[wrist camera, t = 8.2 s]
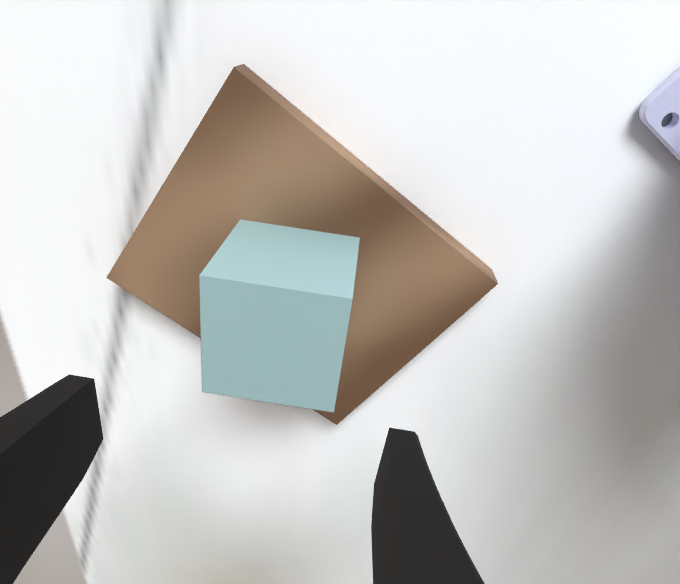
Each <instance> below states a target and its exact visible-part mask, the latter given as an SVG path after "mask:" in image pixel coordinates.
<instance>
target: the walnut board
mask: <svg viewBox="0 0 680 584" xmlns="http://www.w3.org/2000/svg"><path fill="white" fill-rule="evenodd" d="M240 219H241V220H247V221H254V222H261V223H267V224H274V225H280V226H287V227H293V228H300V229H307V230H313V231H320V232H326V233H333V234H339V235H346V236H353V237H359V238H360V241H359V250H358V258H357V266H356V275H355V283H354V292H353V300H352V306H351V312H350V318H349V324H348V330H347V336H346V342H345V348H344V354H343V360H342V366H341V373H340V379H339V385H338V391H337V397H336V403H335V409H334V412H328V411H321V410H315V409H313V410H314V411H316V412H318V413H319V414H321V415H322V416H324V417H325V418H327V419H328V420H330V421H332V422H333V423H335V424H336V425H337V424H338V423H339V422H340V421H342V420H343V419H344V418H345V417H346V416H347V415H348V414H350V413H351V412H352V411H353V410H354V409H355V408H357V407H358V406H359V405H360V404H361V403H362V402H363V401H365V400H366V399H367V398H368V397H369V396H370V395H371V394H373V393H374V392H375V391H376V390H377V389H378V388H379V387H381V386H382V385H383V384H384V383H385V382H386V381H387V380H389V379H390V378H391V377H392V376H393V375H394V374H395V373H397V372H398V371H399V370H400V369H401V368H402V367H403V366H405V365H406V364H407V363H408V362H409V361H410V360H411V359H413V358H414V357H415V356H416V355H417V354H418V353H419V352H421V351H422V350H423V349H424V348H425V347H426V346H427V345H429V344H430V343H431V342H432V341H433V340H434V339H435V338H437V337H438V336H439V335H440V334H441V333H442V332H443V331H445V330H446V329H447V328H448V327H449V326H450V325H451V324H453V323H454V322H455V321H456V320H457V319H458V318H459V317H461V316H462V315H463V314H464V313H465V312H466V311H467V310H469V309H470V308H471V307H472V306H473V305H474V304H475V303H477V302H478V301H479V300H480V299H481V298H482V297H483V296H485V295H486V294H487V293H488V292H489V291H490V290H491V289H493V288H494V287H495V286H496V285H497V284H498V283H497V280H496V278H495V276H494V273H493V271H492V269H491V268H489V267H488V266H487V265H486V264H485V263H483V262H482V261H481V260H480V259H479V258H477V257H476V256H475V255H474V254H473V253H471V252H470V251H469V250H468V249H466V248H465V247H464V246H463V245H462V244H460V243H459V242H458V241H457V240H456V239H454V238H453V237H452V236H451V235H450V234H448V233H447V232H446V231H445V230H444V229H442V228H441V227H440V226H439V225H438V224H436V223H435V222H434V221H433V220H431V219H430V218H429V217H428V216H427V215H425V214H424V213H423V212H422V211H421V210H419V209H418V208H417V207H416V206H415V205H413V204H412V203H411V202H410V201H409V200H407V199H406V198H405V197H404V196H402V195H401V194H400V193H399V192H398V191H396V190H395V189H394V188H393V187H392V186H390V185H389V184H388V183H387V182H386V181H384V180H383V179H382V178H381V177H380V176H378V175H377V174H376V173H375V172H374V171H372V170H371V169H370V168H369V167H367V166H366V165H365V164H364V163H363V162H361V161H360V160H359V159H358V158H357V157H355V156H354V155H353V154H352V153H351V152H349V151H348V150H347V149H346V148H345V147H343V146H342V145H341V144H340V143H338V142H337V141H336V140H335V139H334V138H332V137H331V136H330V135H329V134H328V133H326V132H325V131H324V130H323V129H322V128H320V127H319V126H318V125H317V124H316V123H314V122H313V121H312V120H311V119H310V118H308V117H307V116H306V115H305V114H303V113H302V112H301V111H300V110H299V109H297V108H296V107H295V106H294V105H293V104H291V103H290V102H289V101H288V100H287V99H285V98H284V97H283V96H282V95H281V94H279V93H278V92H277V91H276V90H275V89H273V88H272V87H271V86H270V85H268V84H267V83H266V82H265V81H264V80H262V79H261V78H260V77H259V76H258V75H256V74H255V73H254V72H253V71H252V70H250V69H249V68H248V67H247V66H246V65H244V64H242V65H239V66H236V67H234V68H233V70H232V71H231V73H230V75H229V76H228V78H227V79H226V81H225V83H224V84H223V86H222V88H221V89H220V91H219V93H218V94H217V96H216V98H215V99H214V101H213V103H212V104H211V106H210V108H209V109H208V111H207V113H206V114H205V116H204V117H203V119H202V121H201V122H200V124H199V126H198V127H197V129H196V131H195V132H194V134H193V136H192V137H191V139H190V141H189V142H188V144H187V146H186V147H185V149H184V151H183V152H182V154H181V155H180V157H179V159H178V160H177V162H176V164H175V165H174V167H173V169H172V170H171V172H170V174H169V175H168V177H167V179H166V180H165V182H164V184H163V185H162V187H161V188H160V190H159V192H158V193H157V195H156V197H155V198H154V200H153V202H152V203H151V205H150V207H149V208H148V210H147V212H146V213H145V215H144V217H143V218H142V220H141V222H140V223H139V225H138V226H137V228H136V230H135V231H134V233H133V235H132V236H131V238H130V240H129V241H128V243H127V245H126V246H125V248H124V250H123V251H122V253H121V255H120V256H119V258H118V260H117V261H116V263H115V264H114V266H113V268H112V269H111V271H110V273H109V274H108V276H107V278H108V279H109V280H111V281H113V282H114V283H116V284H117V285H119V286H120V287H122V288H123V289H125V290H127V291H128V292H130V293H131V294H133V295H134V296H136V297H138V298H139V299H141V300H142V301H144V302H145V303H147V304H149V305H150V306H152V307H153V308H155V309H156V310H158V311H159V312H161V313H163V314H164V315H166V316H167V317H169V318H170V319H172V320H174V321H175V322H177V323H178V324H180V325H181V326H183V327H185V328H186V329H188V330H189V331H191V332H192V333H194V334H195V335H197V336H199V337H200V338H201V323H200V279H199V275H200V274H201V272H202V271H203V270H204V268H205V267H206V266H207V264H208V263H209V262H210V260H211V259H212V257H213V256H214V255H215V253H216V252H217V251H218V249H219V248H220V246H221V245H222V244H223V242H224V241H225V240H226V238H227V237H228V236H229V234H230V233H231V231H232V230H233V229H234V227H235V226H236V225H237V223H238V222H239V220H240Z"/></svg>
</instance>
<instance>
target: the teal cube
mask: <svg viewBox="0 0 680 584" xmlns="http://www.w3.org/2000/svg"><path fill="white" fill-rule="evenodd" d="M359 241H360V238H359V237H353V236H346V235H339V234H333V233H326V232H320V231H313V230H307V229H300V228H293V227H287V226H280V225H274V224H267V223H261V222H254V221H247V220H241V219H240V220H239V222H238V223H237V225H236V226H235V227H234V229H233V230H232V231H231V233H230V234H229V236H228V237H227V238H226V240H225V241H224V242H223V244H222V245H221V246H220V248H219V249H218V251H217V252H216V253H215V255H214V256H213V257H212V259H211V260H210V262H209V263H208V264H207V266H206V267H205V268H204V270H203V271H202V272H201V274H200V275H199V279H200V323H201V367H202V392H205V393H212V394H218V395H225V396H231V397H238V398H244V399H251V400H257V401H263V402H270V403H276V404H283V405H289V406H296V407H302V408H309V409H315V410H321V411H328V412H334V409H335V403H336V397H337V391H338V385H339V379H340V373H341V366H342V360H343V354H344V348H345V342H346V336H347V330H348V324H349V318H350V312H351V306H352V300H353V292H354V283H355V275H356V266H357V258H358V250H359Z"/></svg>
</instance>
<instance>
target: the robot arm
mask: <svg viewBox="0 0 680 584" xmlns="http://www.w3.org/2000/svg"><path fill="white" fill-rule="evenodd" d="M668 113H672V115H673V118H672V121H671V122H670V123H669V124H668V125H667V126H665V127H662V125H661V122H662V119H663V118H664V116H665V115H667V114H668ZM639 117H640V119H641V121H642V122H643V123H644V124H645V125H646V126H647V127H648V128H649V129H650V131H651V132H652V133H653V134H654V135H655V136H656V137H657V138H658V139H659V140H660V141H661V142H662V143H663V144H664V145H665V146H666V147H667V148H668V150H669V151H670V152H671V153H672V154H673V155H674V156H675V157H676V158H677V159H678V160H679V161H680V67H679V68H678V69H677V70H676V71H675V72H674V73H673V74H672V75H671V76H670V77H669V78H668V79H667V80H665V81H664V82H663V83H662V84H661V85H660V86H659V87H658V88H657V89H656V90H655V91H654V92H653V93H652V94H650V95H649V96H648V97H647V98H646V99H645V100H644V102H643V103H642V104H641V107H640V110H639ZM102 440H103V434H102V427H101V421H100V414H99V408H98V401H97V395H96V388H95V382H94V379H92V378H86V377H80V376H74V375H68V376H66V377H64V378H63V379H61V380H59V381H58V382H56V383H55V384H53V385H51V386H50V387H48V388H46V389H45V390H43V391H42V392H40V393H39V394H37V395H35V396H34V397H32V398H31V399H29V400H27V401H26V402H24V403H23V404H21V405H20V406H18V407H16V408H15V409H13V410H12V411H10V412H8V413H7V414H5V415H3V416H2V417H0V584H13V583H14V581H15V579H16V578H17V576H18V575H19V573H20V572H21V570H22V568H23V567H24V565H25V564H26V562H27V561H28V559H29V558H30V557H31V555H32V554H33V552H34V551H35V549H36V548H37V546H38V545H39V543H40V542H41V540H42V539H43V537H44V536H45V535H46V533H47V531H48V530H49V528H50V527H51V526H52V524H53V523H54V521H55V520H56V518H57V517H58V515H59V514H60V512H61V511H62V509H63V508H64V506H65V505H66V503H67V502H68V500H69V499H70V497H71V496H72V494H73V493H74V491H75V490H76V488H77V487H78V485H79V484H80V482H81V481H82V479H83V478H84V476H85V474H86V472H87V470H88V468H89V466H90V464H91V462H92V461H93V459H94V457H95V455H96V452H97V450H98V448H99V446H100V444H101V442H102ZM371 528H372V560H373V584H484V582H483V580H482V578H481V577H480V575H479V573H478V571H477V569H476V568H475V566H474V564H473V562H472V560H471V558H470V557H469V555H468V553H467V551H466V549H465V547H464V545H463V543H462V541H461V539H460V537H459V535H458V533H457V531H456V529H455V527H454V525H453V523H452V521H451V519H450V516H449V514H448V512H447V510H446V508H445V505H444V503H443V501H442V499H441V497H440V494H439V492H438V490H437V487H436V485H435V482H434V480H433V477H432V475H431V472H430V470H429V467H428V465H427V462H426V459H425V456H424V454H423V451H422V448H421V445H420V442H419V438H418V436H417V434H416V433H415V432H412V431H406V430H400V429H394V428H389V431H388V435H387V438H386V442H385V446H384V450H383V453H382V457H381V461H380V464H379V468H378V472H377V476H376V479H375V483H374V495H373V509H372V526H371Z"/></svg>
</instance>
